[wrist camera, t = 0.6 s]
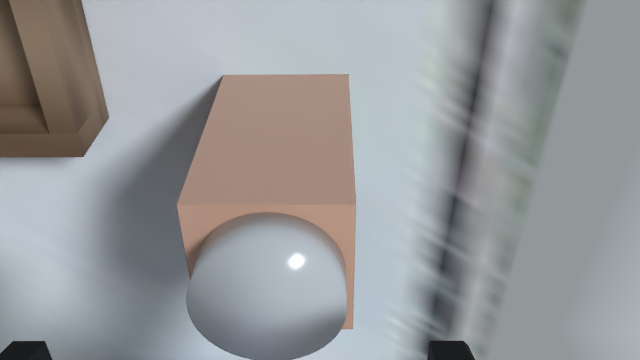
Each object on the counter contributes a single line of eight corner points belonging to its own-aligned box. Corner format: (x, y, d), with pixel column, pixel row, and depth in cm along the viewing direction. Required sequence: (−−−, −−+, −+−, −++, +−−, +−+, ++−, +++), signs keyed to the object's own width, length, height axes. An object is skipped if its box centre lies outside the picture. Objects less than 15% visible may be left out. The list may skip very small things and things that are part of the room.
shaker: (347, 178, 21) (354, 366, 14) (234, 178, 21) (190, 366, 15) (348, 74, 19) (358, 239, 12) (223, 75, 19) (164, 239, 12)
